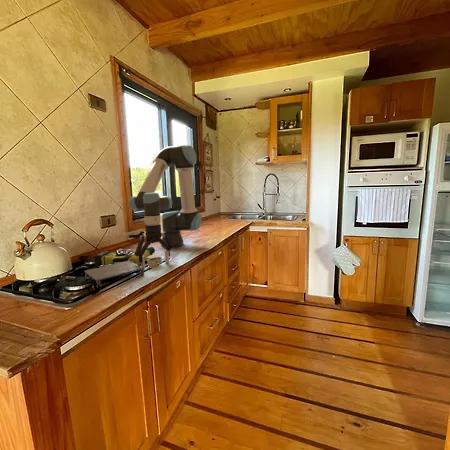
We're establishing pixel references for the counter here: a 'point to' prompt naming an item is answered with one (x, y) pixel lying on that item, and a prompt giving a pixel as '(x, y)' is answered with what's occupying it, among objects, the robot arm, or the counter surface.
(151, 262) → the stacked layers on plate
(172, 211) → the robot arm
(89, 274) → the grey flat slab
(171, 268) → the counter surface
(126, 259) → the cordless drill
